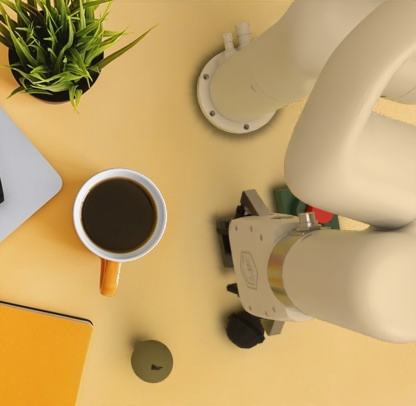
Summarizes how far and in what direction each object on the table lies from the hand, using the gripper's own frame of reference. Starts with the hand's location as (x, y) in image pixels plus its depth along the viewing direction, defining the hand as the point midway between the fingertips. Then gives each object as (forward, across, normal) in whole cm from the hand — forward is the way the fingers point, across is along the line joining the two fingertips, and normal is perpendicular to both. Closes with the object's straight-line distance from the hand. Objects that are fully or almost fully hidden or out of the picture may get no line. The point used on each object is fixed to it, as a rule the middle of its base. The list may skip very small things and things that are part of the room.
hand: (233, 257), depth 65 cm
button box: (+16, -2, +18) cm, 24 cm away
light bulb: (+16, +13, -10) cm, 23 cm away
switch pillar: (+16, 0, +8) cm, 18 cm away
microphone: (+16, +9, +11) cm, 21 cm away
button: (+12, -2, +18) cm, 22 cm away
